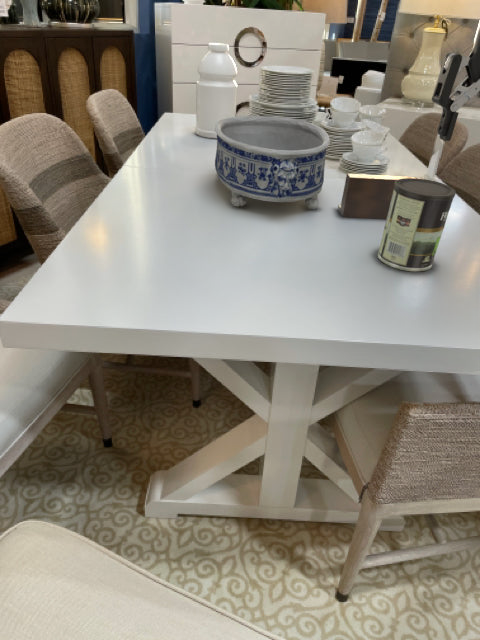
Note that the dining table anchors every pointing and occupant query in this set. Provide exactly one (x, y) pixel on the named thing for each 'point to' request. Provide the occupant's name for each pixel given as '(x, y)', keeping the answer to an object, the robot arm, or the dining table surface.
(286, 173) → the decorative bowl
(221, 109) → the bottle
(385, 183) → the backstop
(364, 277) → the dining table surface
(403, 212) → the coffee can
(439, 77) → the robot arm
